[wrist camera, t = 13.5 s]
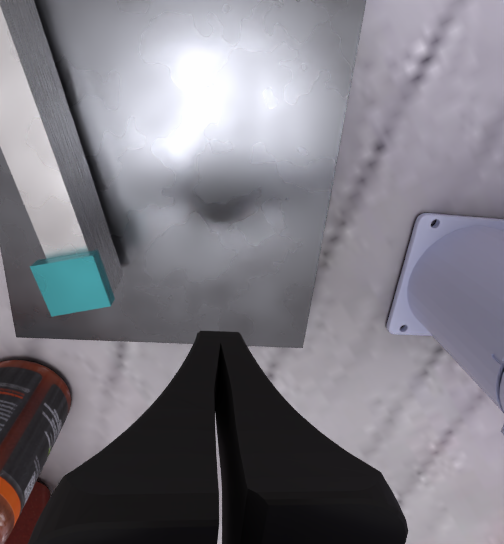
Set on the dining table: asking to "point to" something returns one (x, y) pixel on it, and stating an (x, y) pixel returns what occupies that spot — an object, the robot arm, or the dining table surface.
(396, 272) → the dining table surface
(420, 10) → the dining table surface
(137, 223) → the tray
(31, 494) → the plant pot
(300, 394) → the dining table surface
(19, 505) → the supplement bottle
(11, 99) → the bar
